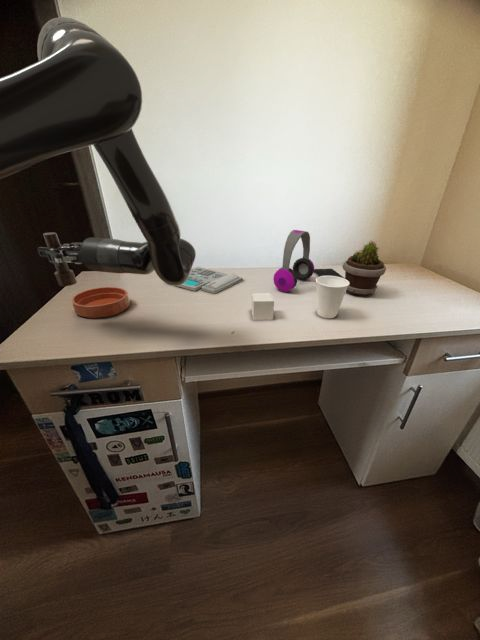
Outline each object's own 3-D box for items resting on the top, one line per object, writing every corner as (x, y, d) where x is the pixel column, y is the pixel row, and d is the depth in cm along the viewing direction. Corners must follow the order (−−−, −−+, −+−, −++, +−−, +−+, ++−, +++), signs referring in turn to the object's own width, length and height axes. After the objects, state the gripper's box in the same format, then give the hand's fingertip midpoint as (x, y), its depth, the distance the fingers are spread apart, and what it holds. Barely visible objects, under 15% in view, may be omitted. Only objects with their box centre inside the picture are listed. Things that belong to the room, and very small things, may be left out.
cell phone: (331, 270, 127) (331, 268, 127) (349, 284, 113) (350, 282, 112) (313, 271, 126) (313, 268, 125) (329, 285, 111) (329, 283, 111)
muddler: (56, 286, 70) (36, 235, 63) (60, 281, 73) (42, 232, 66) (75, 285, 71) (57, 234, 64) (78, 280, 74) (61, 231, 67)
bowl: (71, 322, 79) (66, 309, 77) (80, 301, 91) (76, 289, 89) (129, 315, 84) (126, 303, 82) (131, 296, 96) (128, 285, 94)
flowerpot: (338, 283, 114) (348, 230, 103) (378, 288, 111) (392, 234, 100) (336, 296, 102) (347, 238, 91) (380, 302, 99) (397, 242, 88)
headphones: (291, 295, 101) (297, 237, 90) (270, 290, 105) (273, 233, 94) (314, 280, 116) (321, 228, 105) (295, 275, 120) (300, 225, 109)
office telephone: (243, 274, 112) (211, 289, 97) (243, 280, 113) (212, 296, 98) (197, 263, 121) (162, 275, 106) (198, 269, 122) (163, 282, 107)
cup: (304, 310, 91) (309, 277, 85) (329, 306, 95) (335, 274, 89) (322, 324, 84) (328, 288, 78) (349, 318, 87) (356, 284, 81)
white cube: (273, 319, 85) (274, 301, 82) (253, 320, 84) (253, 301, 81) (270, 310, 90) (271, 293, 87) (251, 311, 89) (251, 293, 86)
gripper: (124, 233, 69) (62, 228, 71) (83, 246, 57) (11, 240, 60) (131, 263, 73) (72, 258, 75) (94, 281, 62) (26, 274, 64)
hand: (45, 250), depth 68 cm, fingers closed on muddler, 2 cm apart
